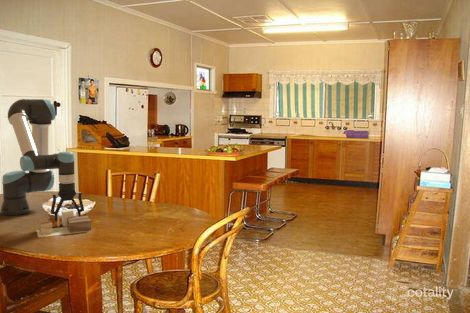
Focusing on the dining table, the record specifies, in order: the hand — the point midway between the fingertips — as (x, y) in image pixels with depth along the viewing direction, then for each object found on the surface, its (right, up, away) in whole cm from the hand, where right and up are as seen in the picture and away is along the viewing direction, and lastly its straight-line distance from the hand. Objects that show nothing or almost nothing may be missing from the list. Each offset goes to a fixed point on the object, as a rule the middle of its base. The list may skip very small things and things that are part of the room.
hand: (68, 225), depth 220 cm
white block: (0, 0, 0) cm, 0 cm away
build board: (+2, -1, -10) cm, 10 cm away
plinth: (+8, 0, -7) cm, 11 cm away
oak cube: (-5, -1, -14) cm, 15 cm away
